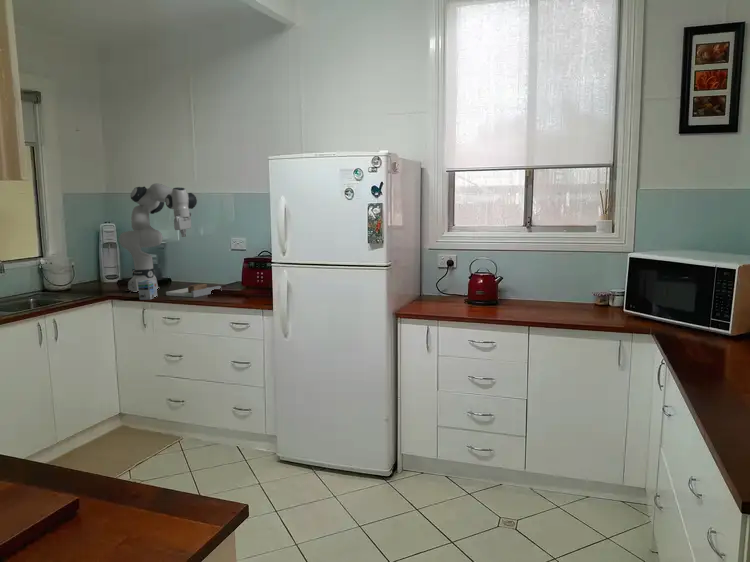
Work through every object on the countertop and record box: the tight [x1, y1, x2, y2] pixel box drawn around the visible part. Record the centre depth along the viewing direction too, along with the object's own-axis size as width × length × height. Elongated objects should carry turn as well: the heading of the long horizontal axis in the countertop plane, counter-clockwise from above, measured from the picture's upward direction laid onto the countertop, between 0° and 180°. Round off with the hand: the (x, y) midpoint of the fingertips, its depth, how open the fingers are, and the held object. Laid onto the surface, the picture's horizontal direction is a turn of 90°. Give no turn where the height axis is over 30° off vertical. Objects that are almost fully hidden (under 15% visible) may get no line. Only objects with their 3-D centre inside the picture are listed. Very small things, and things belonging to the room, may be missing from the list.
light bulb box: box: [138, 278, 158, 301], centre depth 338 cm, size 11×7×11 cm, turn 179°
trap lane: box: [165, 285, 222, 298], centre depth 349 cm, size 25×21×4 cm
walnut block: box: [187, 283, 208, 293], centre depth 342 cm, size 5×10×4 cm, turn 151°
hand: (183, 236), depth 353 cm, fingers closed
